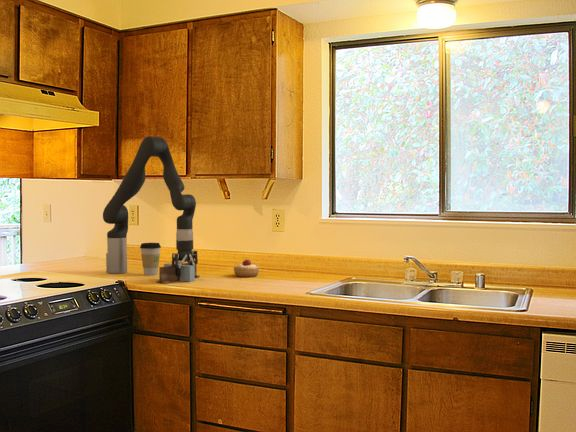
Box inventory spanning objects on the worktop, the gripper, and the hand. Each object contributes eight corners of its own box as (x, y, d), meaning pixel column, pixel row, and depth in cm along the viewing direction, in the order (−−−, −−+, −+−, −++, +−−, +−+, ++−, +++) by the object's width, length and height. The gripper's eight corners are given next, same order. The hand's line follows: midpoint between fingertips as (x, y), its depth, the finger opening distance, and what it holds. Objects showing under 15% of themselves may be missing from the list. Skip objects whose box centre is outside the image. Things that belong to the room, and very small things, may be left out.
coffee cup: (165, 274, 298) (164, 243, 297) (146, 276, 291) (146, 244, 290) (154, 272, 305) (154, 242, 304) (136, 274, 299) (136, 243, 298)
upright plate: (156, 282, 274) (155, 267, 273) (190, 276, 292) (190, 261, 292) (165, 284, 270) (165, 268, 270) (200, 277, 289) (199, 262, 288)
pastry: (261, 275, 298) (262, 257, 298) (255, 278, 287) (256, 259, 286) (237, 274, 301) (237, 255, 300) (230, 277, 289) (231, 258, 289)
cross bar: (164, 279, 284) (163, 263, 284) (168, 278, 287) (168, 263, 286) (190, 282, 275) (189, 266, 275) (194, 281, 278) (194, 265, 277)
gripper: (189, 237, 286) (189, 272, 287) (167, 239, 274) (167, 276, 275) (201, 238, 282) (202, 273, 283) (179, 240, 270) (180, 277, 271)
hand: (185, 275), depth 279 cm, fingers open, 8 cm apart
